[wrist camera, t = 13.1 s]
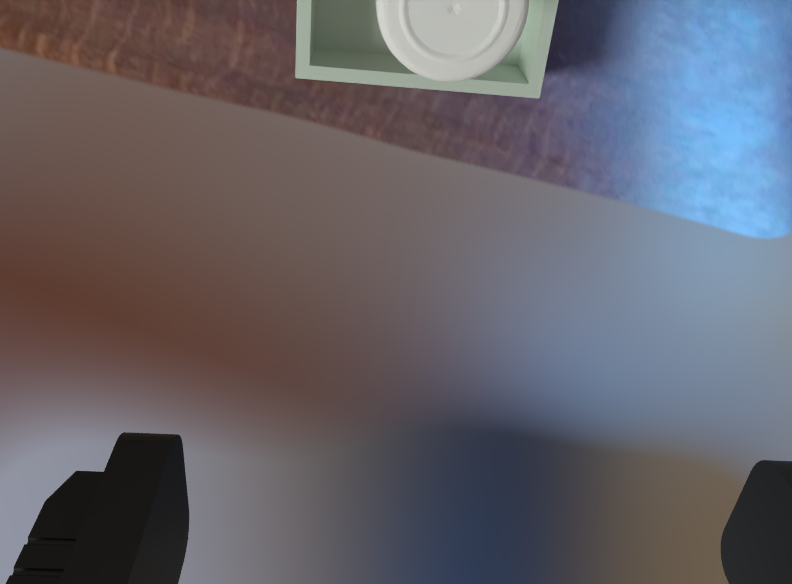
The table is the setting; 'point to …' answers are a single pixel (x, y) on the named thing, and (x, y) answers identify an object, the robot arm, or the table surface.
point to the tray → (375, 64)
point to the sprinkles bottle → (451, 34)
